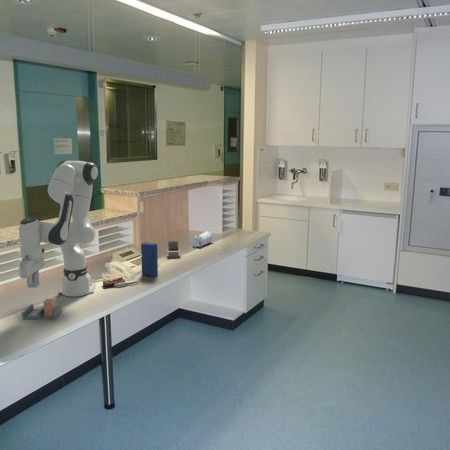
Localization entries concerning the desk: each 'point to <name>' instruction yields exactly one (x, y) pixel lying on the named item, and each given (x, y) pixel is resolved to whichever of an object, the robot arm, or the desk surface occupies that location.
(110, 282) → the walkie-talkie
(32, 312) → the slot dock
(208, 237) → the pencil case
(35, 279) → the slate-blue plug
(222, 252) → the desk surface
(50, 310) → the terracotta plug
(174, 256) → the architectural model
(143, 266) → the blue rectangular block
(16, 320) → the desk surface
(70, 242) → the robot arm
